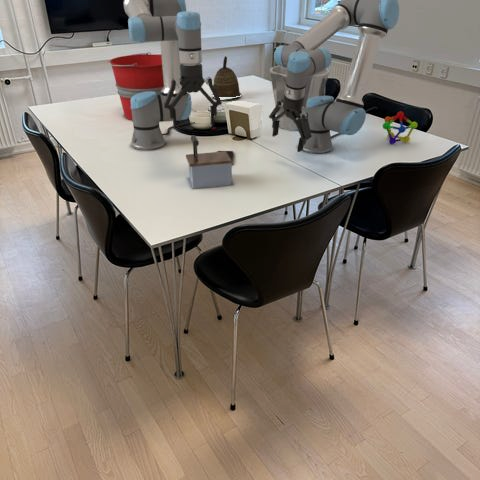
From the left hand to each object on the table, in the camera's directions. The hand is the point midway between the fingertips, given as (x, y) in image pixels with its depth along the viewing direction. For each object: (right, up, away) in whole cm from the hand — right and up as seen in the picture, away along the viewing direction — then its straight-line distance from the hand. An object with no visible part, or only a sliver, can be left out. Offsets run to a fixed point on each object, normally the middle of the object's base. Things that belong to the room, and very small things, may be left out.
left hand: (194, 126), depth 159 cm
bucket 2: (+46, +19, +74) cm, 89 cm away
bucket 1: (-36, +29, +89) cm, 100 cm away
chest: (+5, -18, +13) cm, 23 cm away
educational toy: (+91, +5, +51) cm, 104 cm away
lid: (+5, -11, +8) cm, 14 cm away
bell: (+8, +50, +122) cm, 132 cm away
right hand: (+36, -2, +20) cm, 41 cm away
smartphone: (+10, -6, +33) cm, 35 cm away
